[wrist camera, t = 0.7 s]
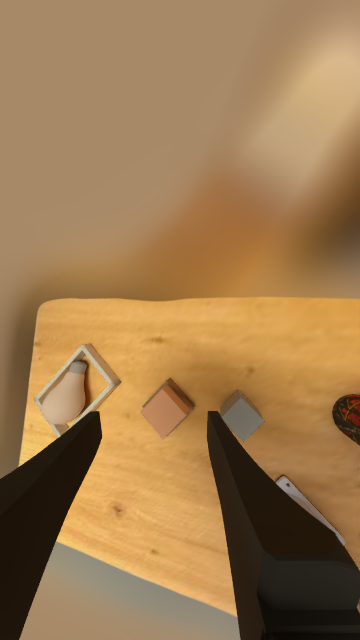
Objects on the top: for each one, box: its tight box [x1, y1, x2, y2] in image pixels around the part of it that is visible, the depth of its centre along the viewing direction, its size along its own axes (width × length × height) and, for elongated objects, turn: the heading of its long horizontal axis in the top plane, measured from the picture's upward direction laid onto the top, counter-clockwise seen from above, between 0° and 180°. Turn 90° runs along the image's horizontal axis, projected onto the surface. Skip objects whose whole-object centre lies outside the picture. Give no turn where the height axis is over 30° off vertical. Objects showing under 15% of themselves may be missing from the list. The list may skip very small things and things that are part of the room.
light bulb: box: [41, 360, 87, 424], centre depth 31 cm, size 7×7×11 cm
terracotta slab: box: [141, 385, 189, 439], centre depth 26 cm, size 5×5×2 cm
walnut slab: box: [142, 379, 195, 436], centre depth 29 cm, size 6×6×2 cm
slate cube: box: [221, 390, 265, 442], centre depth 25 cm, size 4×4×4 cm
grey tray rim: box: [34, 344, 121, 438], centre depth 33 cm, size 10×15×2 cm
